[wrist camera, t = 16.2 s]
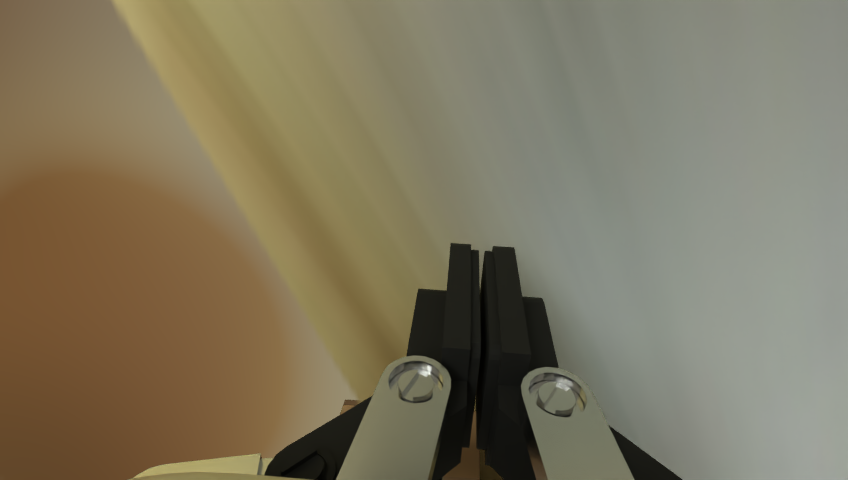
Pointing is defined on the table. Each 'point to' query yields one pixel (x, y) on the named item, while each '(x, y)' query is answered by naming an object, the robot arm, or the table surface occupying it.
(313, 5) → the table surface
